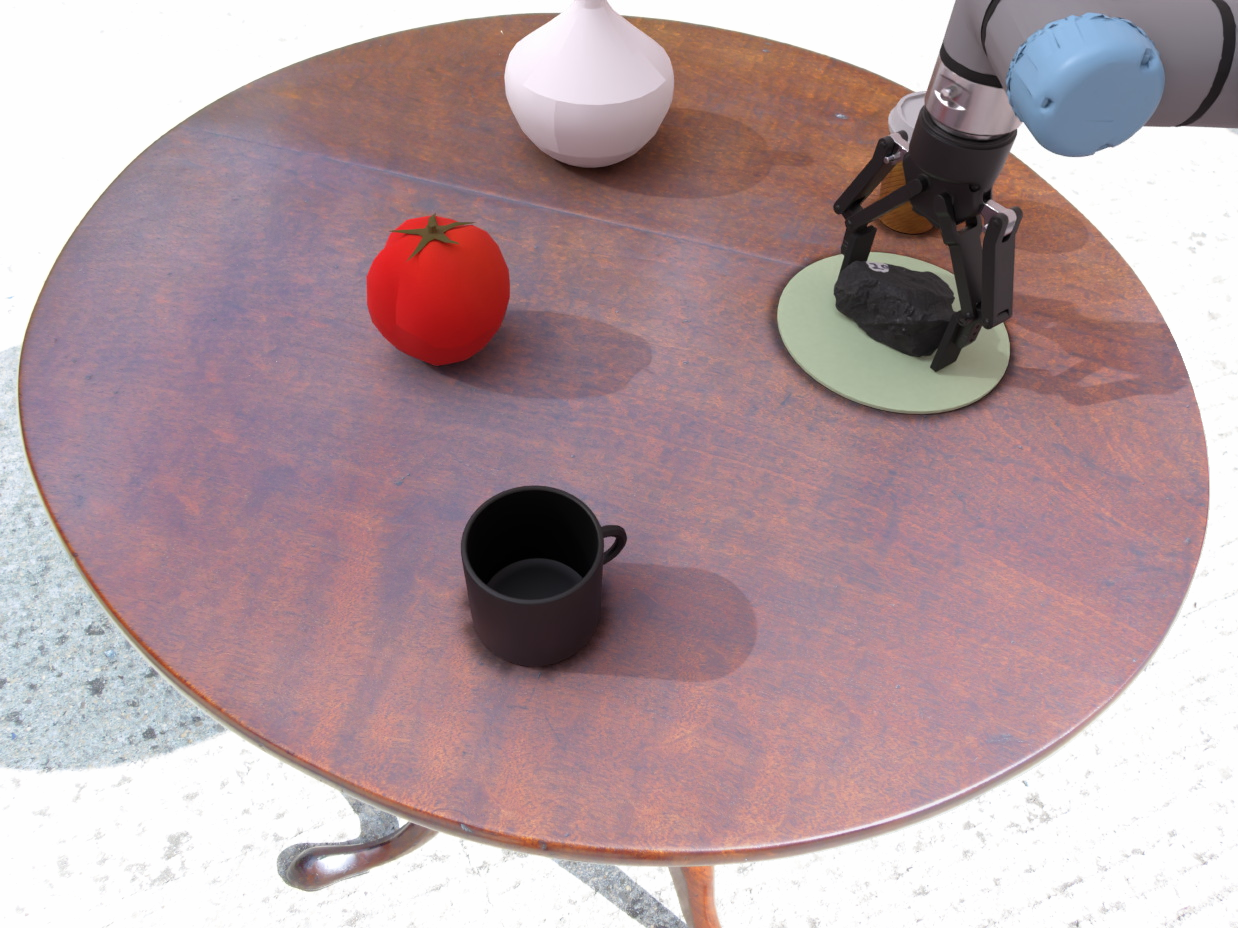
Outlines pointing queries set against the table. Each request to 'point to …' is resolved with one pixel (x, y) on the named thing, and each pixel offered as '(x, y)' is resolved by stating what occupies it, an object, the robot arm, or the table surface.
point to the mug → (536, 573)
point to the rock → (896, 305)
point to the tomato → (438, 289)
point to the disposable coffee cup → (903, 215)
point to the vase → (589, 86)
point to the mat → (881, 348)
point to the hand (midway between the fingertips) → (893, 323)
